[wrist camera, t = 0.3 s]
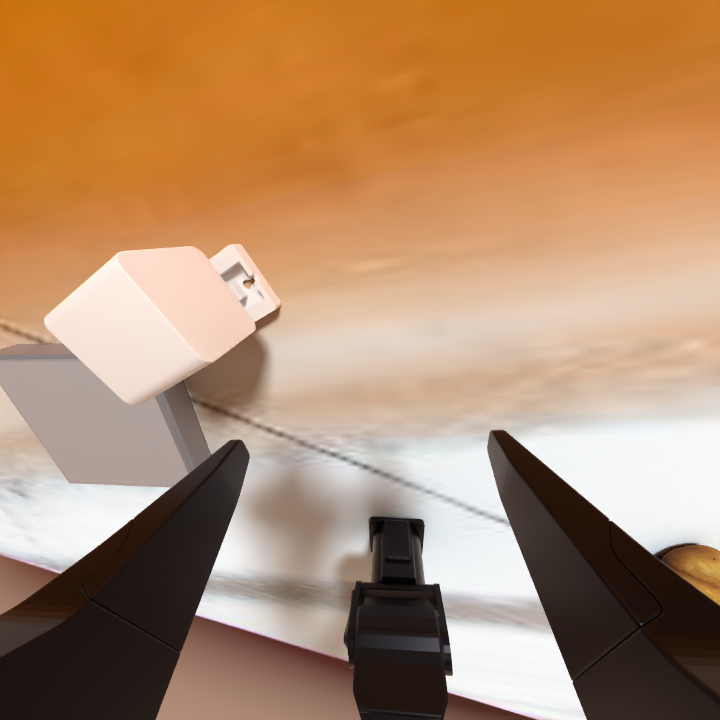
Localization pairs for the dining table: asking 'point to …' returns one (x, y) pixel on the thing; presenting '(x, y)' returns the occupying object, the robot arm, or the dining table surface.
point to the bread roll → (697, 567)
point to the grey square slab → (101, 421)
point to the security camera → (161, 316)
